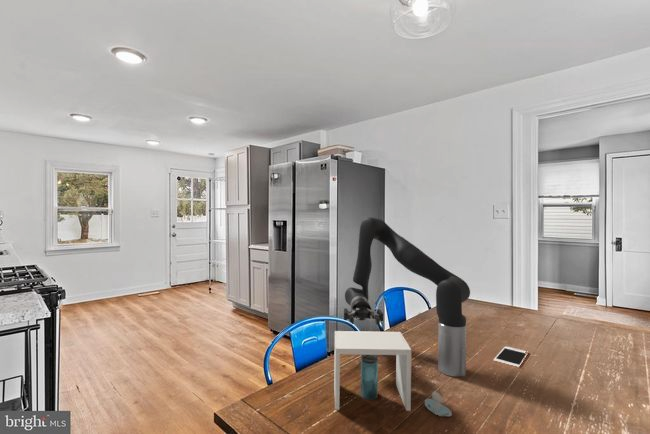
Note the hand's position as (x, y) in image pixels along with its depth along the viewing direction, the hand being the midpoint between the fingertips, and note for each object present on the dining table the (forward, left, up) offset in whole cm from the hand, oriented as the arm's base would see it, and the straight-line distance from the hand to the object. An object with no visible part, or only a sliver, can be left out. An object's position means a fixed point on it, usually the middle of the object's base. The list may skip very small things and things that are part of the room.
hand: (365, 321), depth 111 cm
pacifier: (-25, +11, -19) cm, 34 cm away
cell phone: (-50, -39, -20) cm, 66 cm away
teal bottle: (-4, +10, -19) cm, 22 cm away
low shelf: (-5, +11, -19) cm, 23 cm away
